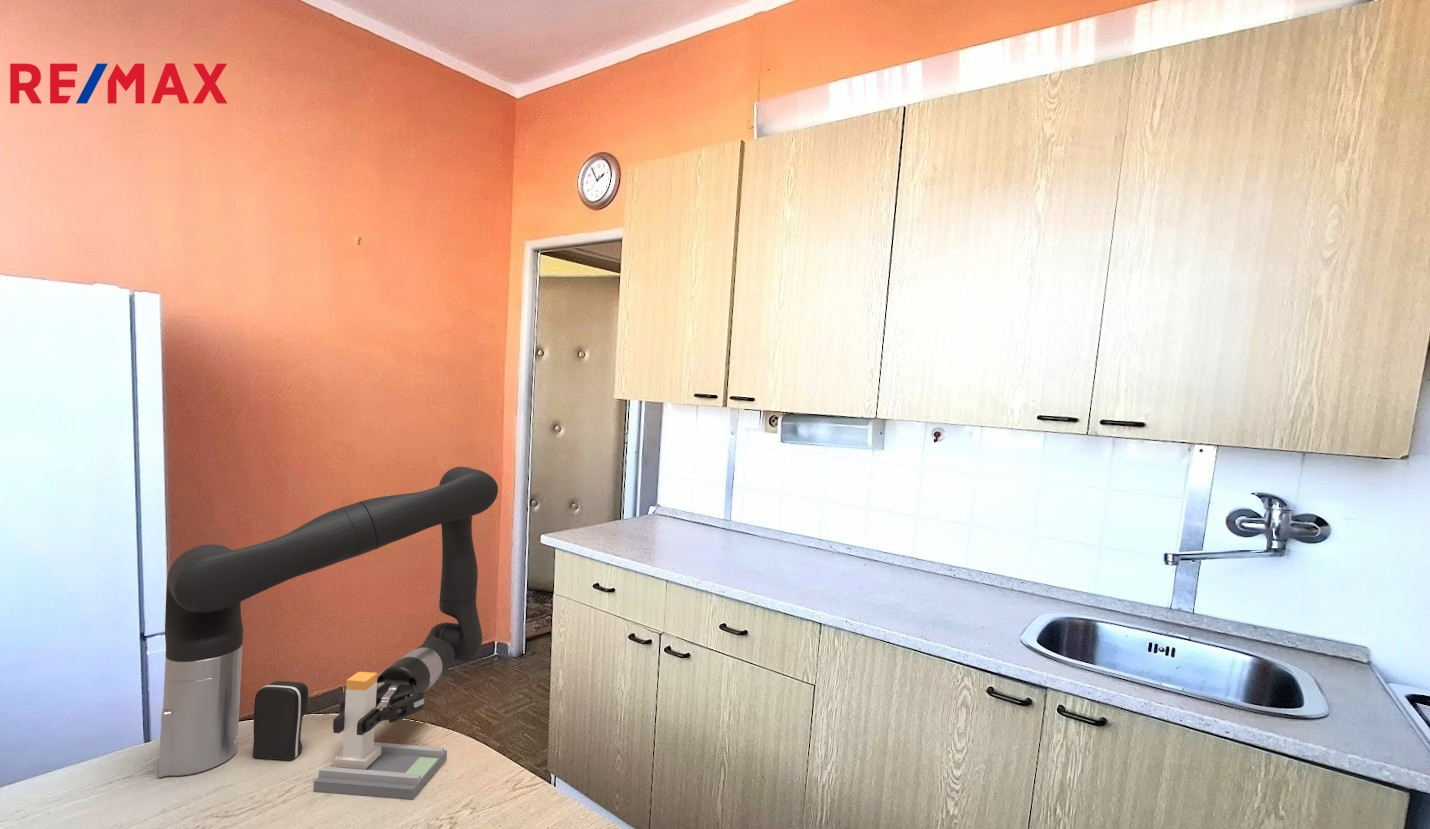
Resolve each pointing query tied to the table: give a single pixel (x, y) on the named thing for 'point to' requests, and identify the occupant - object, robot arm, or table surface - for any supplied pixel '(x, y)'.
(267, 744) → the battery charger
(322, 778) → the switch panel
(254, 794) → the table surface
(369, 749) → the switch handle
